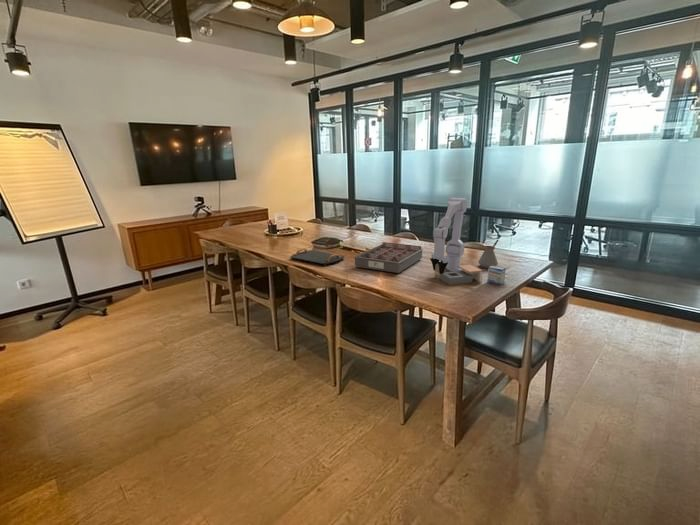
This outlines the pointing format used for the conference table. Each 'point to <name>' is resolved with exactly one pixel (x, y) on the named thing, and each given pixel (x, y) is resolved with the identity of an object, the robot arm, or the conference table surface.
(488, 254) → the coffee pot
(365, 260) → the organizer tray
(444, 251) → the robot arm
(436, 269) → the peg
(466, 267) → the peach slab
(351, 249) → the conference table surface
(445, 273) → the socket block
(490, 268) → the medicine box
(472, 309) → the conference table surface
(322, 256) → the serving board
